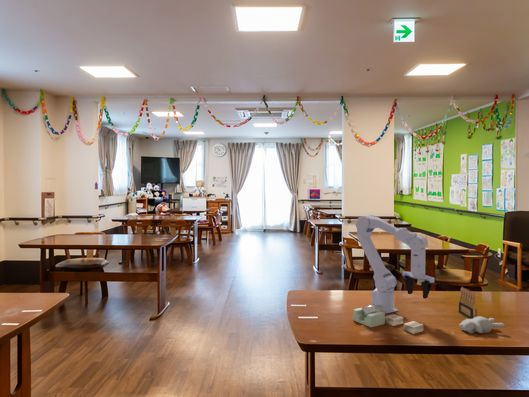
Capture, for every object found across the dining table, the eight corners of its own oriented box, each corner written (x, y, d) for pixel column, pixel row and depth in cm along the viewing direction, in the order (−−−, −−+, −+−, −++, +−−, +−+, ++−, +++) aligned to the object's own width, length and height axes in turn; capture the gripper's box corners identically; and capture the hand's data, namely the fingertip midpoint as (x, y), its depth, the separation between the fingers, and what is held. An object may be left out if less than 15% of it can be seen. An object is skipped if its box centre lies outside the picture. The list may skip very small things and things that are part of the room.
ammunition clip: (476, 320, 163) (477, 292, 163) (472, 320, 163) (473, 292, 162) (462, 312, 174) (462, 285, 173) (458, 312, 174) (458, 285, 173)
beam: (384, 322, 160) (384, 316, 160) (394, 320, 163) (394, 314, 163) (413, 333, 148) (413, 327, 148) (423, 330, 151) (423, 324, 151)
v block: (352, 320, 163) (353, 309, 163) (366, 316, 167) (366, 306, 167) (370, 327, 155) (371, 316, 155) (384, 323, 159) (384, 313, 159)
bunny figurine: (454, 317, 156) (490, 312, 157) (456, 329, 156) (491, 324, 157) (469, 325, 146) (506, 320, 147) (470, 339, 146) (507, 333, 148)
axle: (361, 315, 161) (361, 305, 162) (376, 313, 166) (376, 303, 166) (368, 317, 158) (368, 307, 158) (383, 315, 163) (383, 305, 163)
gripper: (397, 262, 170) (397, 293, 170) (426, 268, 157) (426, 301, 158) (408, 260, 173) (408, 290, 174) (437, 266, 161) (437, 299, 161)
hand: (417, 295), depth 166 cm, fingers open, 7 cm apart
